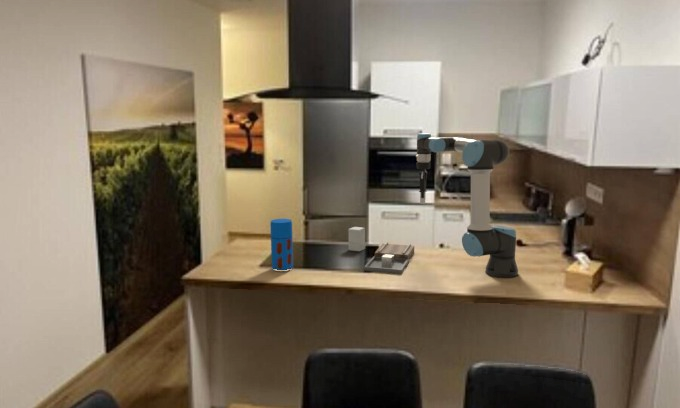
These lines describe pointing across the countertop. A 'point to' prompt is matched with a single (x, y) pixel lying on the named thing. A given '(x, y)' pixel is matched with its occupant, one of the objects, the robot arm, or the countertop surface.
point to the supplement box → (356, 238)
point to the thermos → (281, 244)
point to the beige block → (387, 261)
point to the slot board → (395, 250)
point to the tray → (376, 266)
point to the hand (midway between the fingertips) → (422, 203)
